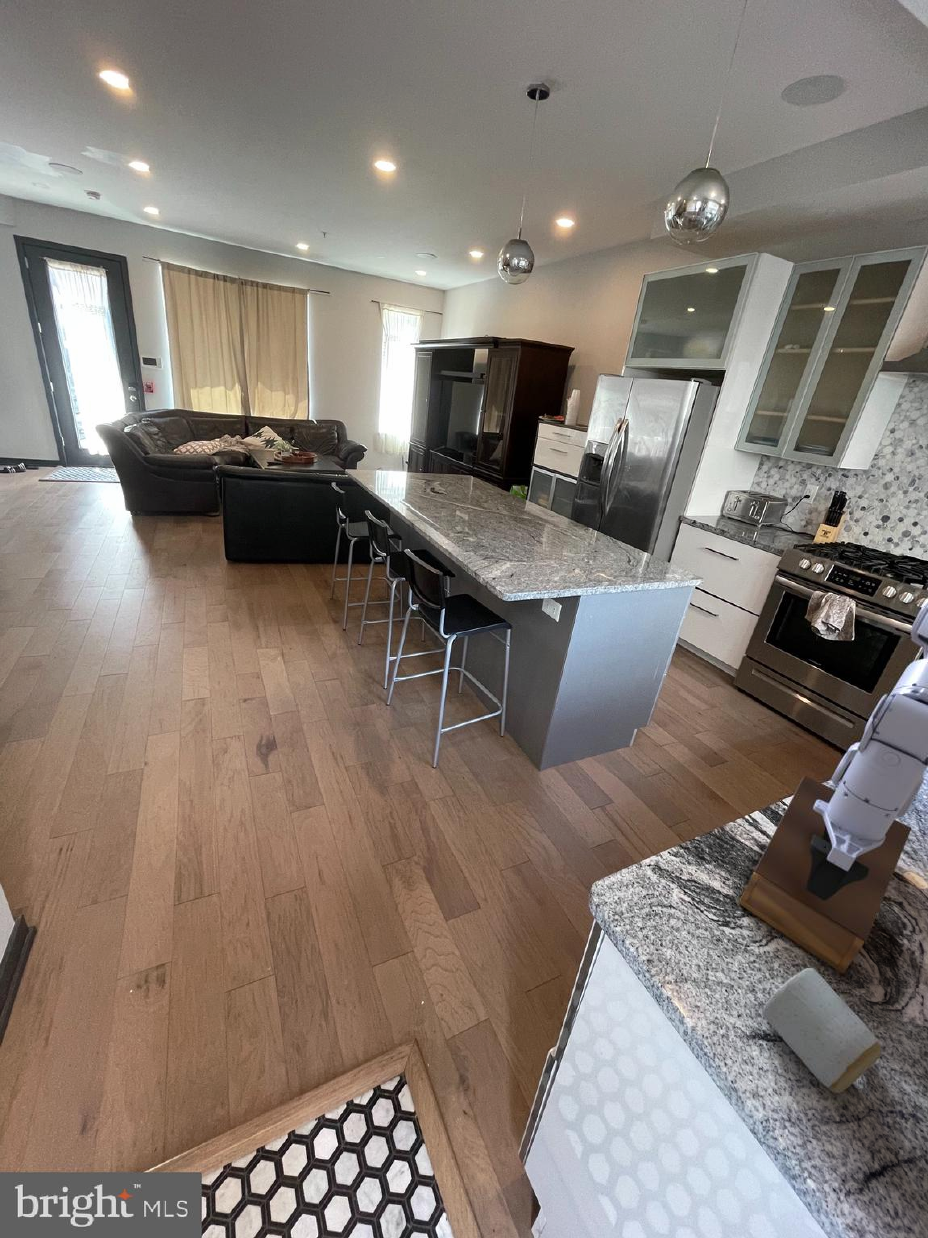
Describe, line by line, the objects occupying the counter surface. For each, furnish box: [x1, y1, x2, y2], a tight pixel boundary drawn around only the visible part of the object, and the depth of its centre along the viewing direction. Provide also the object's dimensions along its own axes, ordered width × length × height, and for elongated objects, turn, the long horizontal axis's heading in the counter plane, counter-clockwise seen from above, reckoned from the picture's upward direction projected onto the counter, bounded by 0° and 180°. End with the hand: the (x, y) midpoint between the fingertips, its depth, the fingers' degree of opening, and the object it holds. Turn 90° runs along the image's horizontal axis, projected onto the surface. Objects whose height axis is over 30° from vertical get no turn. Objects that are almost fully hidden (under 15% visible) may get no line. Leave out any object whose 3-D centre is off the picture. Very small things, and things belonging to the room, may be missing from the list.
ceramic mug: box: [761, 967, 883, 1094], centre depth 54 cm, size 11×8×8 cm
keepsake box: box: [738, 871, 865, 975], centre depth 71 cm, size 16×13×6 cm
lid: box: [753, 774, 912, 942], centre depth 67 cm, size 16×13×1 cm
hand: (821, 877), depth 63 cm, fingers open, 7 cm apart
